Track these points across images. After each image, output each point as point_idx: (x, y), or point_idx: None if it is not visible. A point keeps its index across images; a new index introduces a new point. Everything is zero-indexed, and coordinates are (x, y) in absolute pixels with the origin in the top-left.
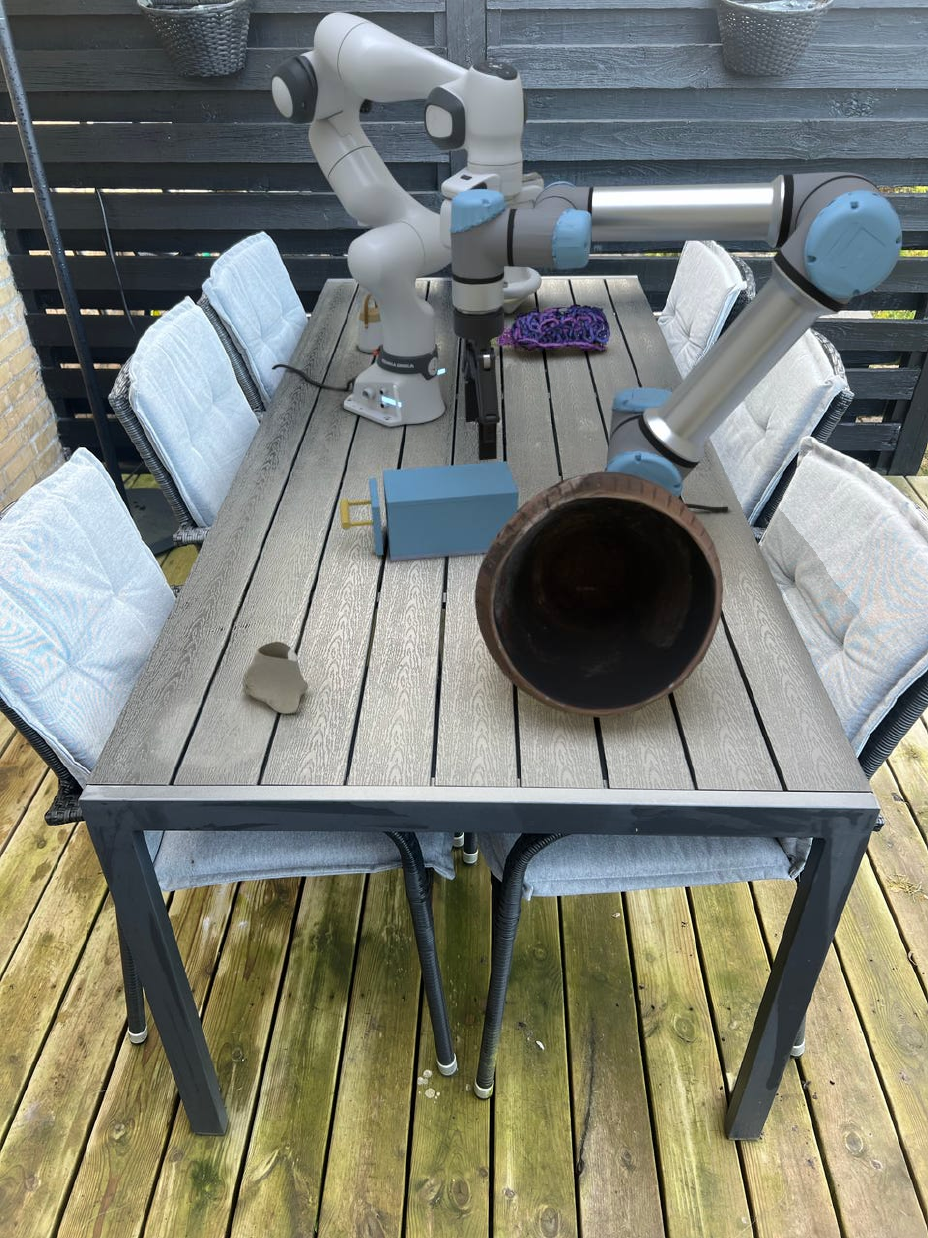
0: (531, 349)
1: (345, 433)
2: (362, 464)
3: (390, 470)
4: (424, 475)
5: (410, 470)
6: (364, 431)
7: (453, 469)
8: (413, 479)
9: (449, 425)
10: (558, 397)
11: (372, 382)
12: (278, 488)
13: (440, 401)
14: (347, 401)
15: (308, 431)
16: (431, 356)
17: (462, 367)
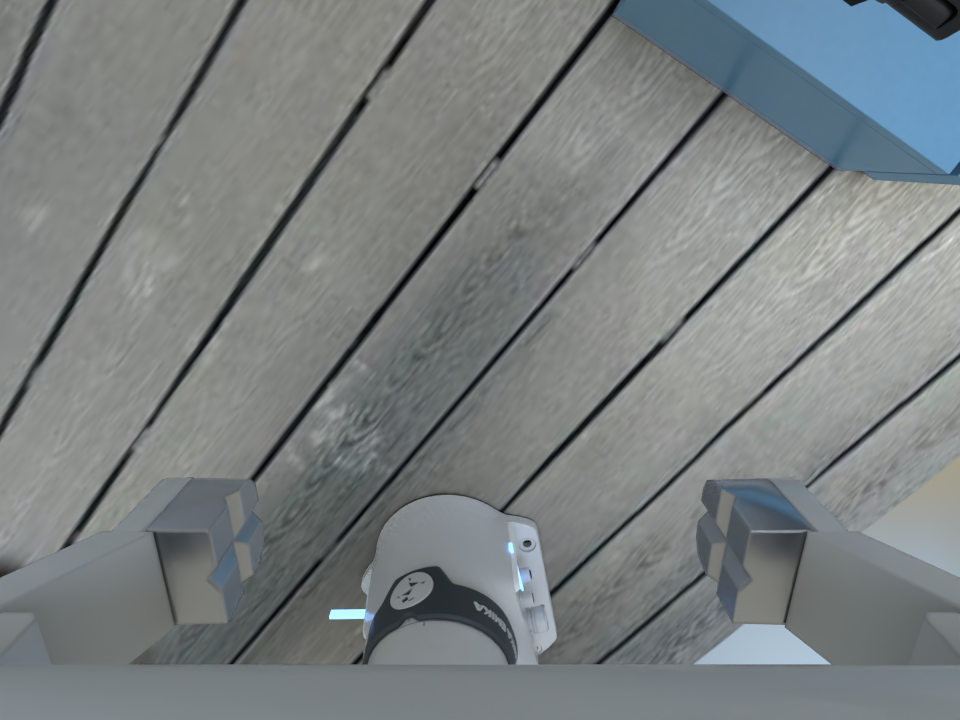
0: None
1: (620, 550)
2: (682, 427)
3: (936, 159)
4: (898, 64)
5: (899, 121)
6: (585, 536)
7: (813, 37)
8: (937, 66)
9: (425, 457)
10: (125, 419)
11: (529, 637)
12: (869, 446)
13: (403, 527)
14: (542, 644)
15: (669, 596)
16: (416, 610)
17: (949, 33)
